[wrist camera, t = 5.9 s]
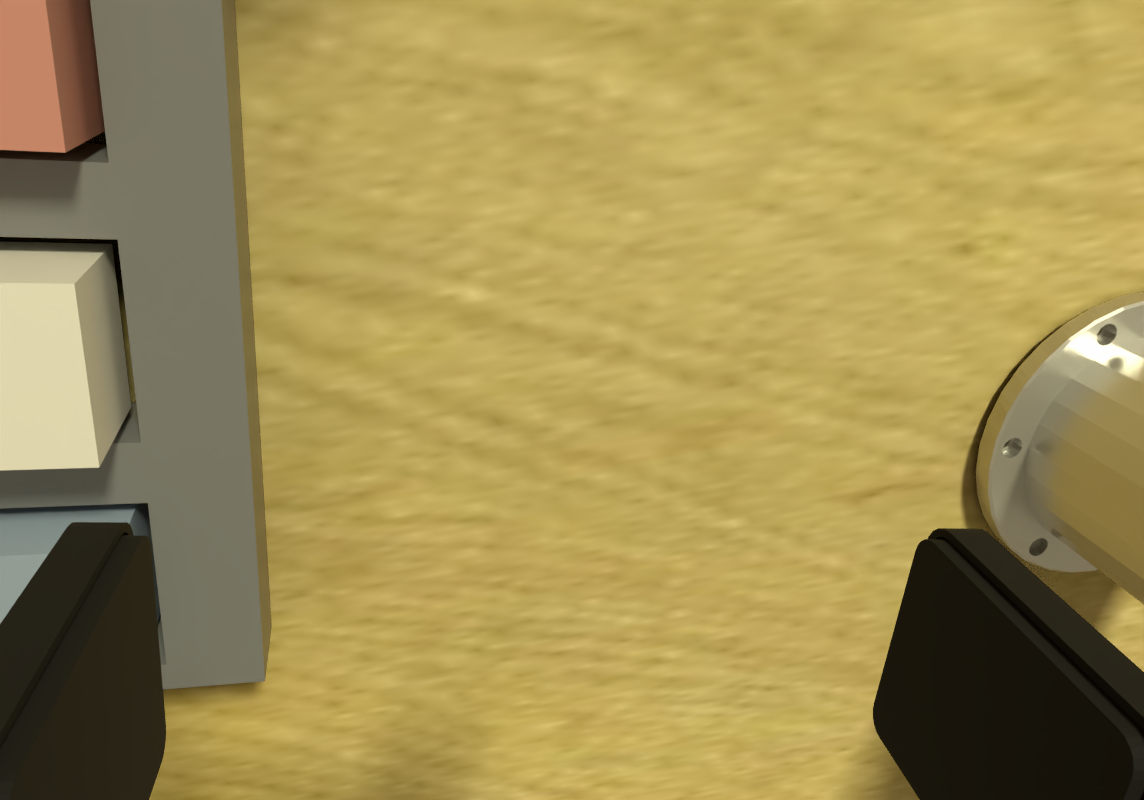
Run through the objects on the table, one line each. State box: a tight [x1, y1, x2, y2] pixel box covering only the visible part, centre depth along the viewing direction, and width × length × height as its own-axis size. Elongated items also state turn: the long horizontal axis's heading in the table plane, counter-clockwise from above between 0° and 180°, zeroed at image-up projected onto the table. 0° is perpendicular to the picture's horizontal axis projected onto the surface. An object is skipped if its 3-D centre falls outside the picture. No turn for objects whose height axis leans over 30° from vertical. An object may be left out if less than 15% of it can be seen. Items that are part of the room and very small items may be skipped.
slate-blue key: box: [0, 503, 160, 624], centre depth 28 cm, size 5×5×4 cm
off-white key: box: [0, 241, 131, 470], centre depth 24 cm, size 5×5×4 cm
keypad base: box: [0, 0, 271, 690], centre depth 26 cm, size 12×24×3 cm, turn 175°
